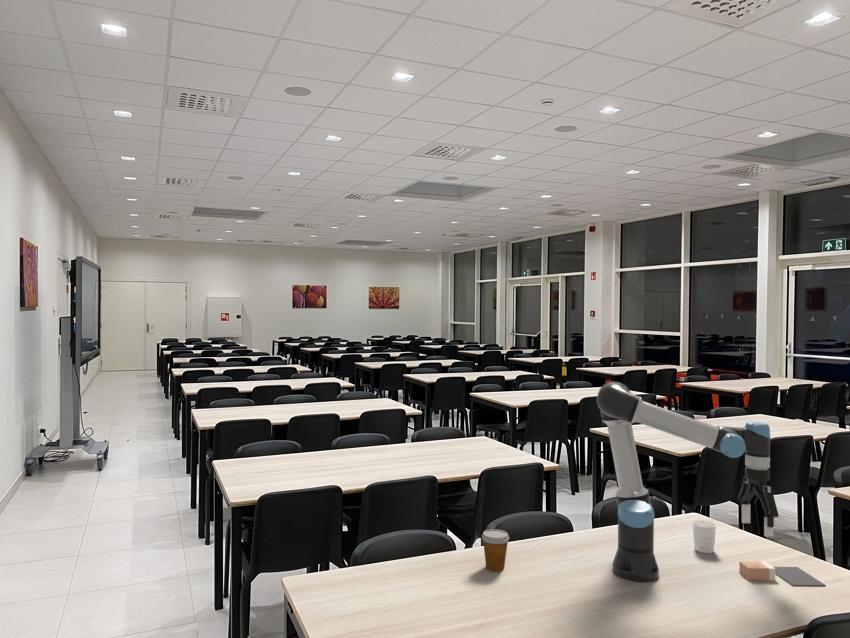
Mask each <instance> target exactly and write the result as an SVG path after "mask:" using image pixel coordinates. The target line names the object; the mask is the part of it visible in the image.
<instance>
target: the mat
mask: <svg viewBox="0 0 850 638" xmlns="http://www.w3.org/2000/svg"><path fill="white" fill-rule="evenodd" d="M773 567H774V568H775V576H777V577H779V578H780V579H782V580H783V581H784V582H785V583H788V584H789V585H790V586H792V587H826V586H827V585H826V584H825V583H823V582H822V581H820V580H818V579H817V578H815V577H814V576H812V575H811V574H809V573H808V572H806V571H804V570H803V569H801V568H800V567H799V566H773Z"/></svg>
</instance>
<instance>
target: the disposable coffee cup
mask: <svg viewBox="0 0 850 638" xmlns="http://www.w3.org/2000/svg"><path fill="white" fill-rule="evenodd" d="M481 539H482V541H483V542H482V543H483V549H484V550H483V551H484V552H483V553H484V561H485V568H486V569H487V570H488V569H489V571H490V570H491V571H490V572H502V571H503V569H504V570H505V565H506V558H507V552H508V551H507V549H508V542H509V541H510V536H509V533H508V532H507V531H506V530H502V529H487V530H484V531H483V533H482V535H481ZM501 570H502V571H501Z"/></svg>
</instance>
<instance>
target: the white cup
mask: <svg viewBox="0 0 850 638" xmlns="http://www.w3.org/2000/svg"><path fill="white" fill-rule="evenodd" d="M716 527H717V525H716V524H715V523H713V522H712V521H707V520H694V521H693V522H692V529H693V530H692V531H693V542H694V543H693V544H694V548H693V549H694V550H695V551H697V552H699V553H703V554H713V553H714V551H715V542H716V530H717V528H716Z"/></svg>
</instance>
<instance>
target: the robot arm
mask: <svg viewBox="0 0 850 638" xmlns="http://www.w3.org/2000/svg"><path fill="white" fill-rule="evenodd" d="M596 404H597V407H598V409H599V410H600V417H601V421H602V422H604V424H606V426H607V432H608V438H609V443H610V448H611V453H612V454H611V455H612V458H613V463H614V464H613V466H614V469H615V470H614V471H615V475H616V482H617V485H618V488H617V490H616V492H615V498H616V504H617V517H618V518H617V550H616V553H615V555H614V558H613V561H612V564H611V565H612V566H611V567H612V571H613V573H614V574H615V575H616V576H618V577H620V578H623V579H626V580H629V581H634V582H635V581H636V582H652V581H655V580H657V579H658V578H659V577H660V576H659V575H660V572H659V571H660V569H659V566H658V562H657V559H656V556H655V553H654V552H655V551H654V545H655V543H654V542H655V541H654V537H655V536H654V535H655V529H654V526H655V511H654V507H653V506H652V503H651V499H650V498H651V497H650V494H649V489H647V488H646V487H645V486H644V485H643V479H642V473H641V469H640V464H639V458H638V451H637V447H636V440H635V437H634V430H633V426H632V424H634V423H639V424H641V425H644V426H647V427H649V428H653V429H655V430H658V431H661V432H664V433H666V434H670V435H672V436H675V437H677V438H680V439H683V440H685V441H689V442H690V443H691V442H692V443H695V444H697V445H700V446H703V447H706V448H709V449H711V450H713V451H716V452H720V453H721V454H722V455H724V456H726V457H728V458H731V459H735V458H739V457H741V456H743V455H744V456H745V457H744V458H745V459H744V465H745V468H744V476H743V477H742V482H741V487H740V489H739V493H738V496H737V501H740V504H741V523H742V524H751V500H752V499H753V497H754V496H756V497H757V498H758V499H759V501H760V504H761V507H762V509H763V512H764V514H765V515H764V516H763V520H764V521H763V537H774V525H775V521H774V520H775V518H779V512H778V508H777V503H776V499H775V496H774V488H773V486H769V485H767V482H769V481H770V480H771V470H770V468H771V464H770V463H771V430H770V425H769V424H768V423H766V422H760V421H747V422H746V423H745V426H743V427H739V426H738V427H736V426H735V427H733V426H722V425H721V426H720V425H712V424H709V423H706V422H703V421H701V420H697V419H696V418H692V417H690V416H687V415H683V414H680V413H678V412H676V411H672V410H669V409H666V408H663V407H661V406H658V405H656V404H655V405H654V404H652V403H649V402H646V401H644V400H643V399H642V397H641V396H638V395H636V394H633V393H631V391H630V388H628V386H627V385H625V384H623V383H622V382H619V381H610V382H606V383H604V384H603V385H602V386H601V387H600V388H599V391H598V392H597V396H596ZM744 453H745V454H744Z"/></svg>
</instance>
